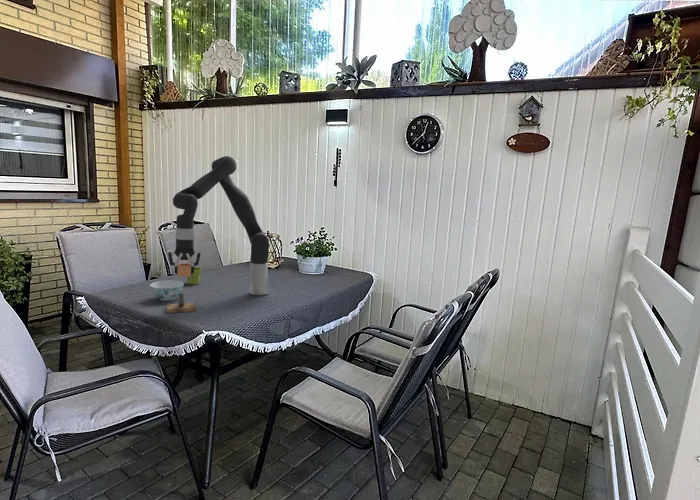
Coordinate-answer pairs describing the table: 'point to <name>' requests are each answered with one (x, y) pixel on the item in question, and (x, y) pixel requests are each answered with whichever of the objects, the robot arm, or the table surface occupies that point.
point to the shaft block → (181, 306)
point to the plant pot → (195, 276)
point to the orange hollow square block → (184, 270)
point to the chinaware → (166, 289)
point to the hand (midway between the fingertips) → (184, 274)
